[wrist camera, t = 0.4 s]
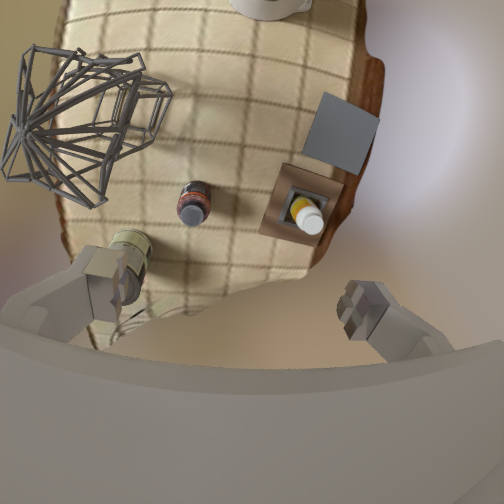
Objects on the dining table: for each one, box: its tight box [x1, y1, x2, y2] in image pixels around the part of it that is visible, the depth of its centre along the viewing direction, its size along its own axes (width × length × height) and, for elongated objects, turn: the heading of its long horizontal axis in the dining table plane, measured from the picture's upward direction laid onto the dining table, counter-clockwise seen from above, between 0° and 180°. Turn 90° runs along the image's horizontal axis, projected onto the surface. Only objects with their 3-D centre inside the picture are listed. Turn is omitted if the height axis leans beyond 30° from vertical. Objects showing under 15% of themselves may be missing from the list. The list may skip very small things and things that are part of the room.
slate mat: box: [302, 92, 380, 175], centre depth 51 cm, size 14×14×1 cm
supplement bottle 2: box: [289, 195, 324, 235], centre depth 55 cm, size 5×5×10 cm
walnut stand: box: [259, 163, 344, 247], centre depth 58 cm, size 16×14×2 cm
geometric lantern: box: [0, 44, 173, 210], centre depth 28 cm, size 16×16×35 cm
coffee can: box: [107, 229, 152, 306], centre depth 53 cm, size 10×10×14 cm
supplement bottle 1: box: [177, 181, 211, 227], centre depth 50 cm, size 6×6×11 cm
